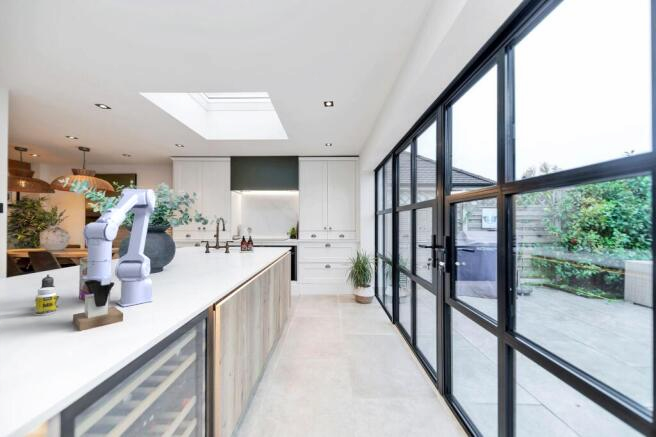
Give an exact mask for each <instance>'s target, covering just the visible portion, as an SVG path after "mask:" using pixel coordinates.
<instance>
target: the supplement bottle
mask: <svg viewBox="0 0 656 437" xmlns="http://www.w3.org/2000/svg"><path fill="white" fill-rule="evenodd" d="M40 288H41V287H40ZM40 288H39V289H38V290H37V295H36V296H35V299H36V301H35V307H34V308H35V312H34V314H35V316H38V317H39V316H42V317H43V316H48V315H52V314H54V313H56V312H57V308H56V306H57V302H56V296H58V295H57V293H56V286H55V287H46V288H41V289H40Z"/></svg>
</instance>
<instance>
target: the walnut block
mask: <svg viewBox="0 0 656 437" xmlns="http://www.w3.org/2000/svg"><path fill="white" fill-rule="evenodd" d="M84 314H85V311H84V312H79V313H74V314H73V315H72V324H74V326H75V327H76V328H77V329H78V331H79V332H83V330H84V331H87V330H92V329H96V328H100V327H105V326H108V325H113V324H116V323H121V322H124V312H122V311H121V310H120V309H118V308H116V307H115V306H108V314H105V315H101V316H96V317H91V318H87V317H86V316H85V315H84Z"/></svg>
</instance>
